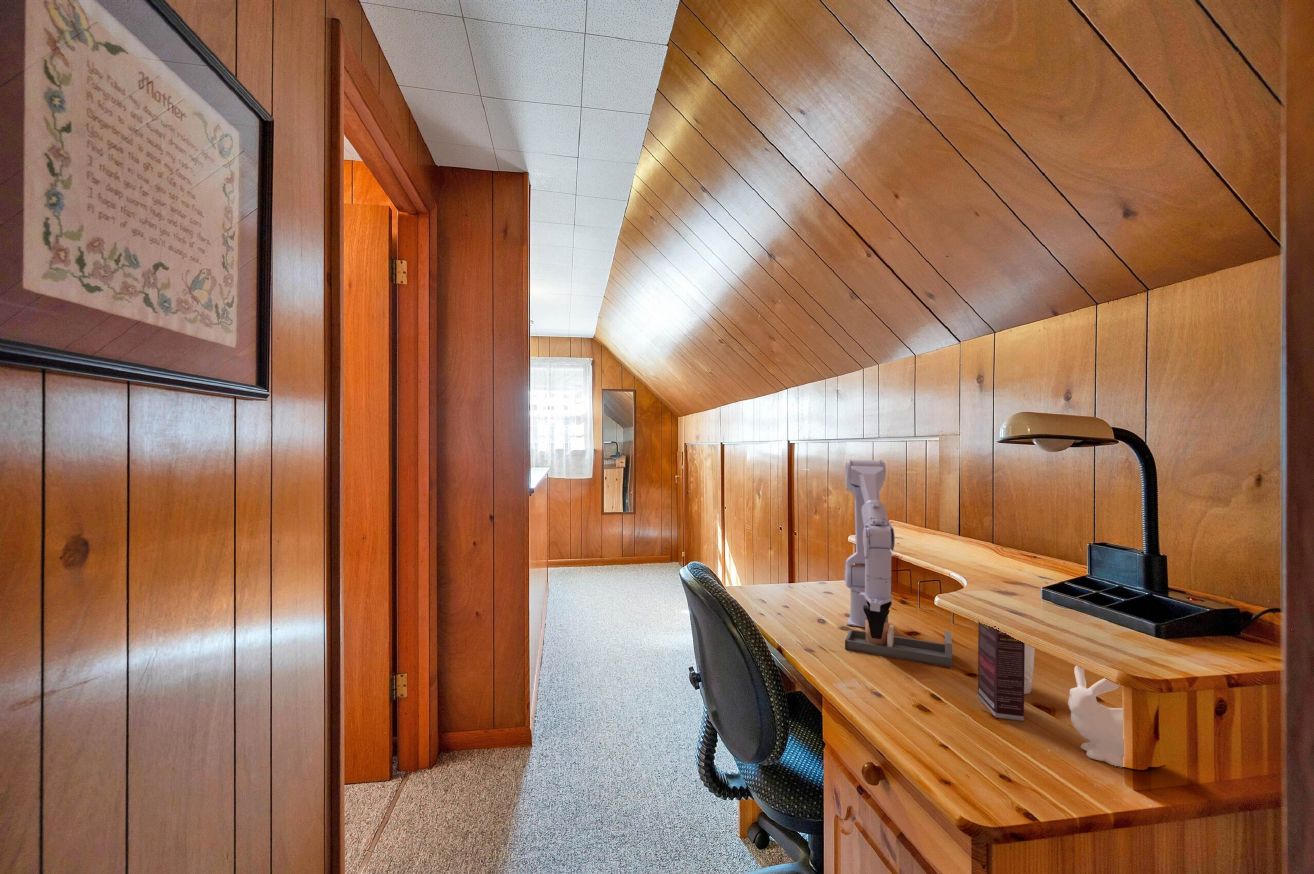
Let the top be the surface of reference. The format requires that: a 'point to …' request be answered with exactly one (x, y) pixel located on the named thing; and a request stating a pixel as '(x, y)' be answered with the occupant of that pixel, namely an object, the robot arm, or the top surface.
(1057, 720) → the top surface
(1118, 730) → the rabbit
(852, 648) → the tray
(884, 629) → the jar
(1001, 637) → the supplement box
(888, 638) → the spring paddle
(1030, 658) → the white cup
